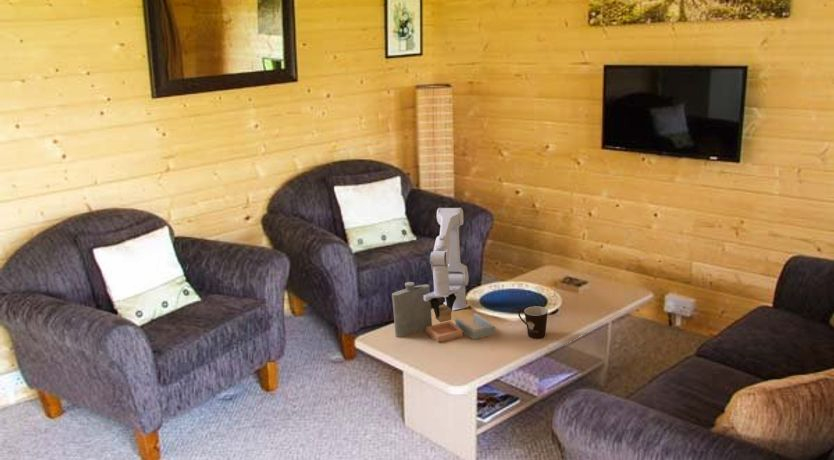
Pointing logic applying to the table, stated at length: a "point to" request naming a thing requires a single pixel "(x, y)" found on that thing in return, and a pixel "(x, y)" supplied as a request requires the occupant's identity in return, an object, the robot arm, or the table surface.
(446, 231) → the robot arm
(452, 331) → the tray
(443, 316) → the walnut cube
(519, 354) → the table surface
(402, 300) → the hip flask
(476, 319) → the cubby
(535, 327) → the coffee mug
